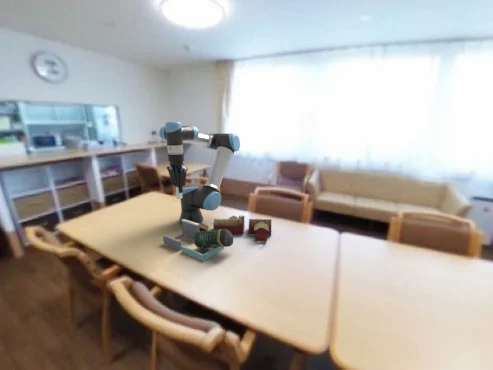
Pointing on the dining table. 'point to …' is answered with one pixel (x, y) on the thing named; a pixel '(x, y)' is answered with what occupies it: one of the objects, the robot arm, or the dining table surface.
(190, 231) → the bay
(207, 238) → the coffee jar
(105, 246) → the dining table surface
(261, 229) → the toy houses
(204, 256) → the teal u-shaped frame
